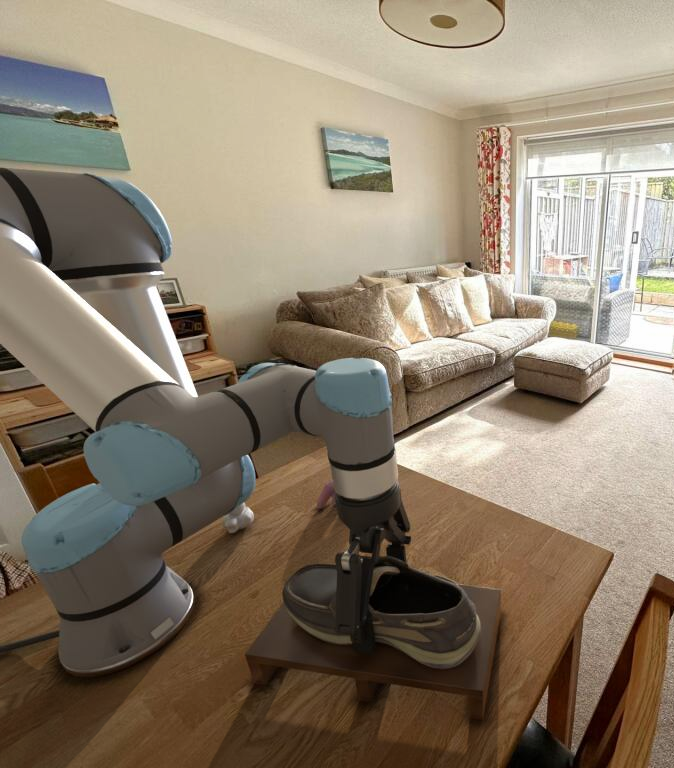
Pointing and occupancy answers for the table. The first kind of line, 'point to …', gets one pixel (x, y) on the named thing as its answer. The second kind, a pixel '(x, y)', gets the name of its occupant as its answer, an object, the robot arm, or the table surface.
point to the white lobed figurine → (238, 518)
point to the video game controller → (326, 494)
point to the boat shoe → (392, 610)
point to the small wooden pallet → (380, 657)
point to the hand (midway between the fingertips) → (383, 611)
